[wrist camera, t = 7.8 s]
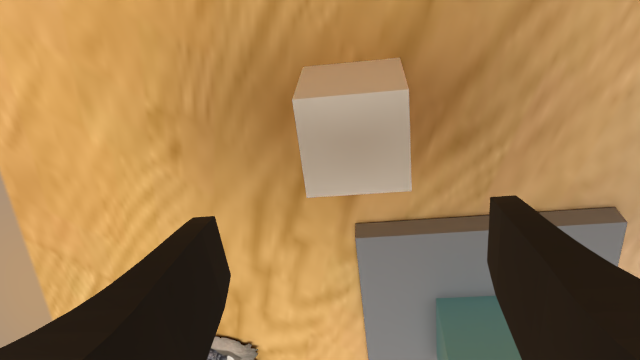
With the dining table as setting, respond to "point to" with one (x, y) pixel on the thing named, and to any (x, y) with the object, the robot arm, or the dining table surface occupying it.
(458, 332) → the teal cube
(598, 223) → the plate
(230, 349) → the blueberries
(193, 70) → the dining table surface
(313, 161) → the cream cube
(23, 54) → the dining table surface
